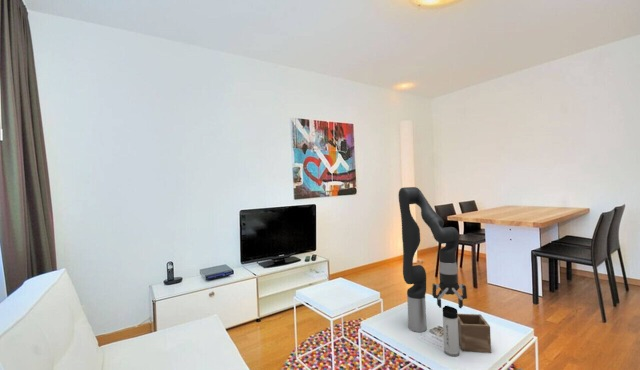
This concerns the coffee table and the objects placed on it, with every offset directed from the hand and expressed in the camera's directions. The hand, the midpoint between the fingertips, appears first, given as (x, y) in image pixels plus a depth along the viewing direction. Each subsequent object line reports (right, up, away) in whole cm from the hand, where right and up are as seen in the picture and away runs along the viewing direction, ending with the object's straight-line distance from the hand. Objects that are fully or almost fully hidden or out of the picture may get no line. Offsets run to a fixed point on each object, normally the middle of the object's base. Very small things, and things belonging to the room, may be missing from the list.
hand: (449, 307), depth 133 cm
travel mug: (+1, -21, 0) cm, 21 cm away
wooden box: (+13, -20, +6) cm, 25 cm away
